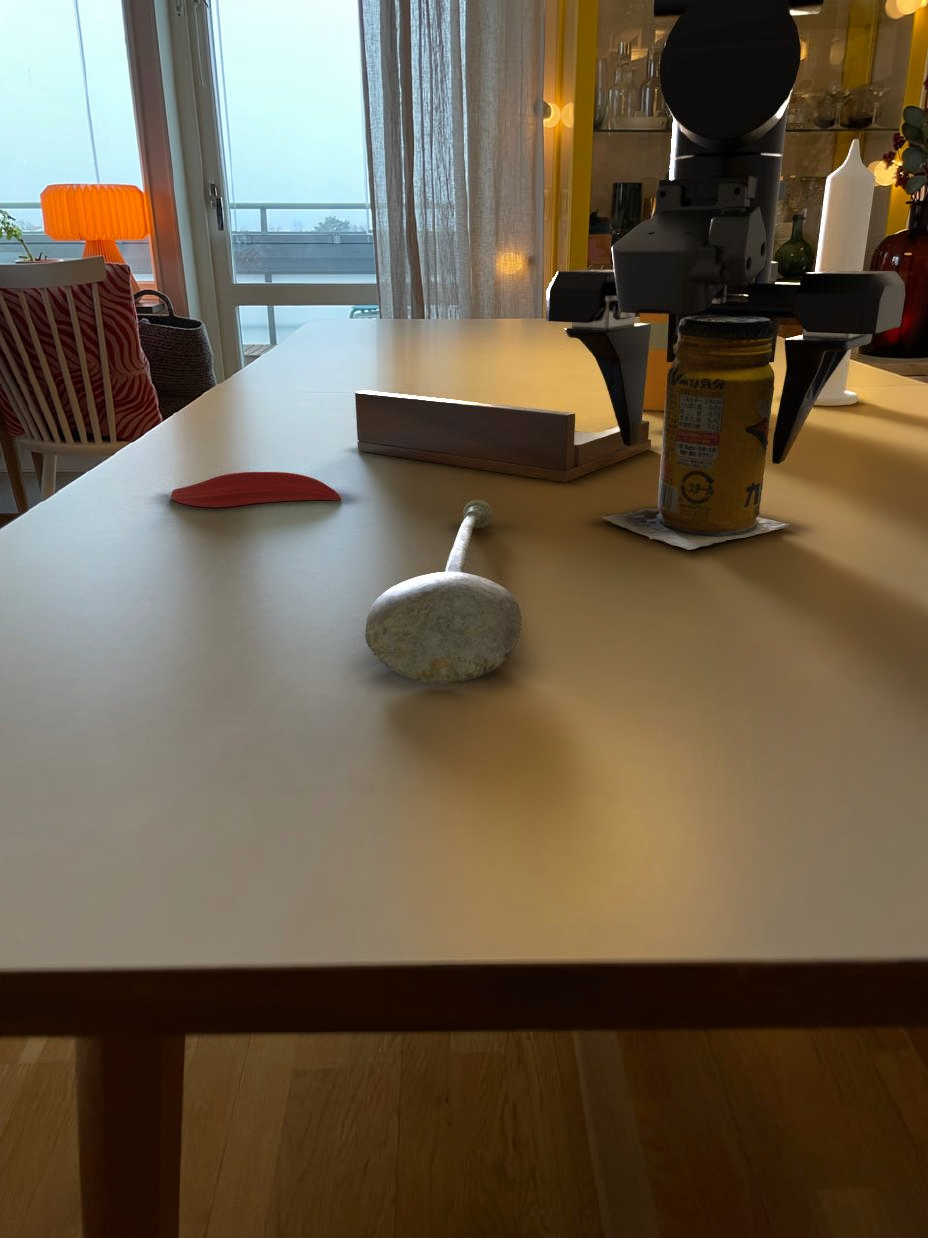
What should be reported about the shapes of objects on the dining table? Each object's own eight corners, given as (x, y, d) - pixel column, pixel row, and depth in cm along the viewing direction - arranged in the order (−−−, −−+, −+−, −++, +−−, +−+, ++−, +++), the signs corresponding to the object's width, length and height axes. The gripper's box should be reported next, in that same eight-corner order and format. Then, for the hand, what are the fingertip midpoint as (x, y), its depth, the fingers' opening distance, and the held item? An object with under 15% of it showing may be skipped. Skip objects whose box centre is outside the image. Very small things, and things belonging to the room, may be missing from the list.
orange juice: (721, 413, 93) (742, 192, 85) (633, 409, 96) (645, 195, 88) (729, 401, 100) (749, 196, 92) (646, 398, 103) (659, 198, 95)
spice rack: (457, 425, 88) (456, 373, 87) (651, 449, 77) (654, 390, 76) (357, 450, 78) (354, 392, 76) (565, 482, 67) (567, 414, 65)
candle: (867, 405, 97) (908, 134, 87) (798, 406, 97) (832, 135, 87) (842, 395, 103) (878, 141, 94) (778, 395, 103) (807, 142, 94)
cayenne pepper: (154, 504, 62) (151, 476, 62) (187, 487, 67) (184, 461, 66) (326, 512, 60) (324, 483, 59) (348, 494, 64) (346, 467, 64)
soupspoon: (349, 695, 37) (514, 708, 37) (347, 618, 36) (519, 630, 35) (426, 522, 57) (533, 529, 57) (426, 468, 56) (537, 475, 55)
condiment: (789, 528, 56) (816, 318, 52) (689, 553, 52) (708, 326, 47) (699, 502, 62) (715, 311, 57) (601, 522, 57) (611, 317, 53)
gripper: (493, 160, 48) (493, 459, 54) (871, 133, 38) (820, 506, 44) (597, 171, 57) (587, 429, 63) (930, 152, 46) (881, 463, 52)
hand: (701, 453), depth 55 cm, fingers open, 9 cm apart
